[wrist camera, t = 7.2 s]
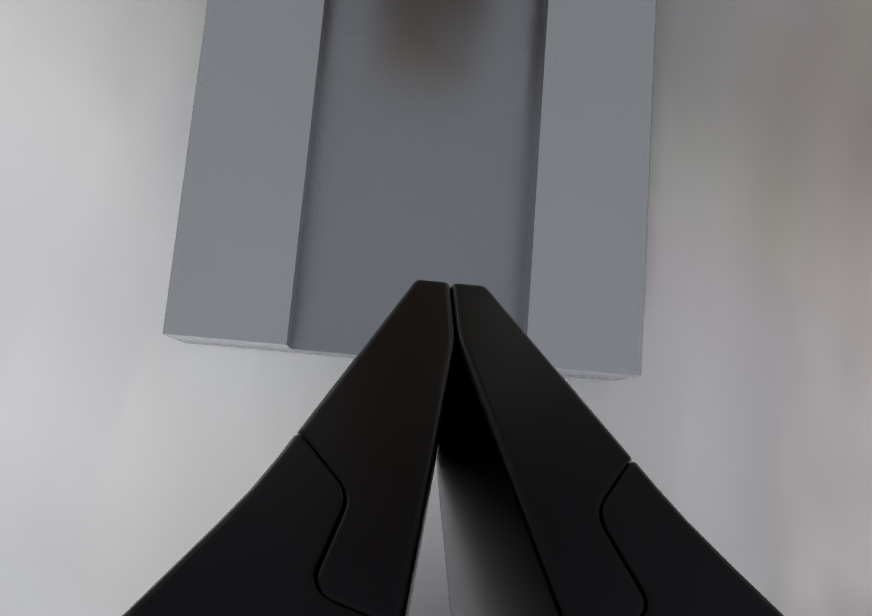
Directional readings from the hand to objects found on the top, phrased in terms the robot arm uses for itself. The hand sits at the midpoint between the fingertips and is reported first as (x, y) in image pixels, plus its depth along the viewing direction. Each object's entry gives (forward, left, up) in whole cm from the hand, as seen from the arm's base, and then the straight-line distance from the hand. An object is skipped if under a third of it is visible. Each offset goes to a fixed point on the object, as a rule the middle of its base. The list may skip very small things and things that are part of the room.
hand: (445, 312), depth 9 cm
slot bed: (+8, -5, -12) cm, 16 cm away
